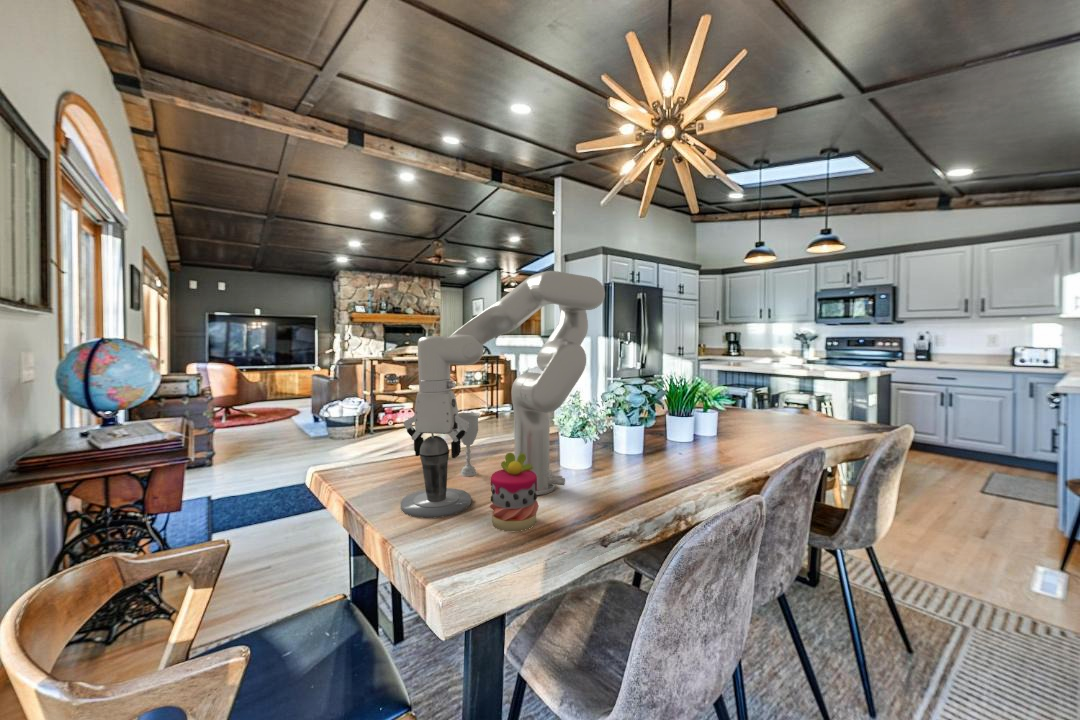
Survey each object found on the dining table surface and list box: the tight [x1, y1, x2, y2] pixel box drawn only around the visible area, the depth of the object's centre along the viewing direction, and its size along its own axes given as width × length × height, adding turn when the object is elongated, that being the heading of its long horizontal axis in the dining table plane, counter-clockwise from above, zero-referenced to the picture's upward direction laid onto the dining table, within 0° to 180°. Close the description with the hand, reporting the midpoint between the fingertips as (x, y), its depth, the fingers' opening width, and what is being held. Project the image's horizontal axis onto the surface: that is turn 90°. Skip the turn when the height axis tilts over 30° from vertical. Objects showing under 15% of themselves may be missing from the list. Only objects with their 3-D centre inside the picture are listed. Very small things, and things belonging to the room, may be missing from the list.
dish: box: [400, 487, 472, 519], centre depth 115 cm, size 17×17×2 cm
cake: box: [489, 452, 540, 532], centre depth 103 cm, size 10×10×15 cm
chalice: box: [457, 412, 481, 477], centre depth 139 cm, size 7×7×18 cm
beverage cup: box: [419, 433, 451, 502], centre depth 114 cm, size 7×7×20 cm
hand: (437, 455), depth 114 cm, fingers open, 9 cm apart
